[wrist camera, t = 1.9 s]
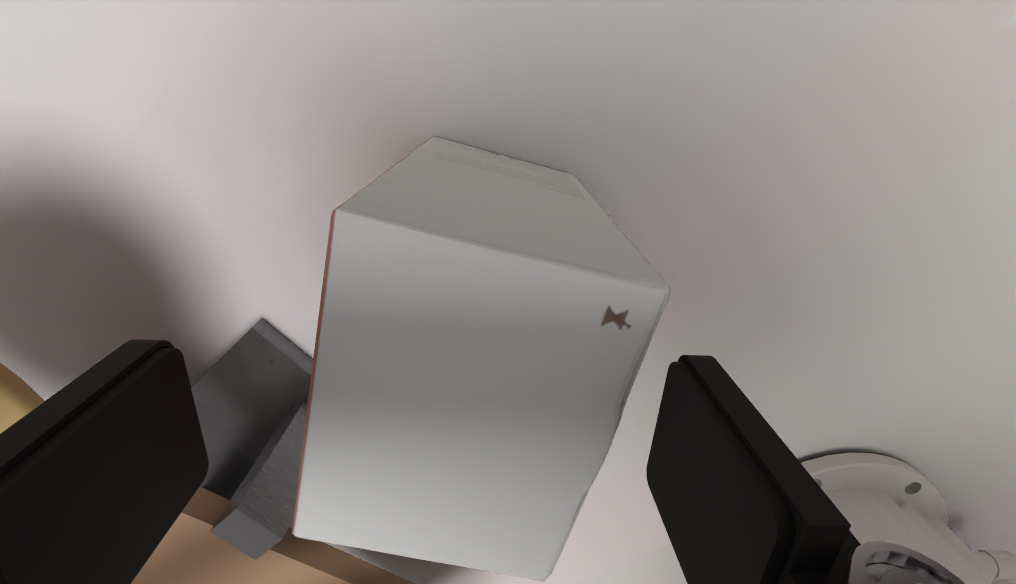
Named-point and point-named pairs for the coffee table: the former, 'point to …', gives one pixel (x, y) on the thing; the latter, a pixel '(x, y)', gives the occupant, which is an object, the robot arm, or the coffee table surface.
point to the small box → (469, 361)
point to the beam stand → (255, 436)
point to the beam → (205, 557)
